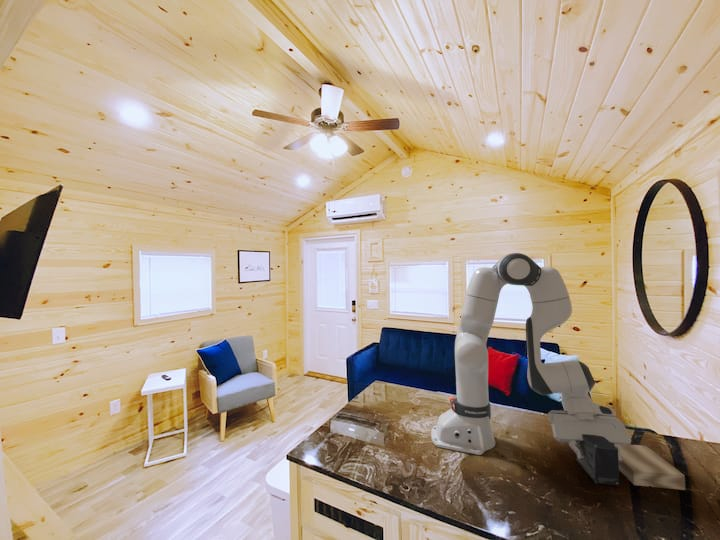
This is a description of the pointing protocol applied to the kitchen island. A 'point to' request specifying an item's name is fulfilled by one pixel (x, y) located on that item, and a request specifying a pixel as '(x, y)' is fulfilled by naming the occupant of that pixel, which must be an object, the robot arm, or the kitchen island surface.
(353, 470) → the kitchen island surface
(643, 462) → the plinth
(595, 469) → the small box
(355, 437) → the kitchen island surface
